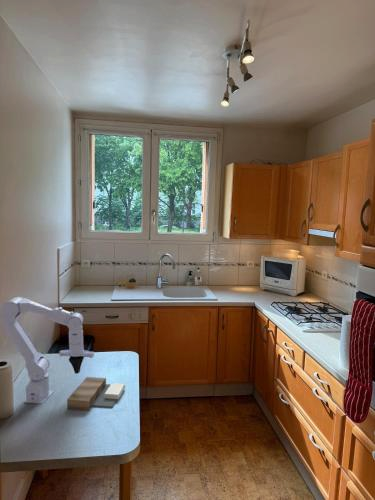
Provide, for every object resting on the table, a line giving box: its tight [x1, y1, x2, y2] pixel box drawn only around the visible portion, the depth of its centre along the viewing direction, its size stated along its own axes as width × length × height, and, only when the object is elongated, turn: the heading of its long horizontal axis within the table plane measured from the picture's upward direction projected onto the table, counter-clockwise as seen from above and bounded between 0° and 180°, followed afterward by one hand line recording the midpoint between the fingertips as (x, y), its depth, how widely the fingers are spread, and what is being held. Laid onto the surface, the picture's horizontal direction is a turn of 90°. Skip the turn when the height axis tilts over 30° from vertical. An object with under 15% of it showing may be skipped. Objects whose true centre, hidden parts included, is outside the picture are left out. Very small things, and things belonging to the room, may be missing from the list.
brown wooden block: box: [66, 376, 107, 412], centre depth 144 cm, size 19×9×4 cm, turn 173°
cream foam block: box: [105, 382, 126, 400], centre depth 146 cm, size 9×6×2 cm, turn 173°
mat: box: [92, 383, 118, 409], centre depth 145 cm, size 17×8×1 cm, turn 173°
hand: (77, 372), depth 147 cm, fingers closed
